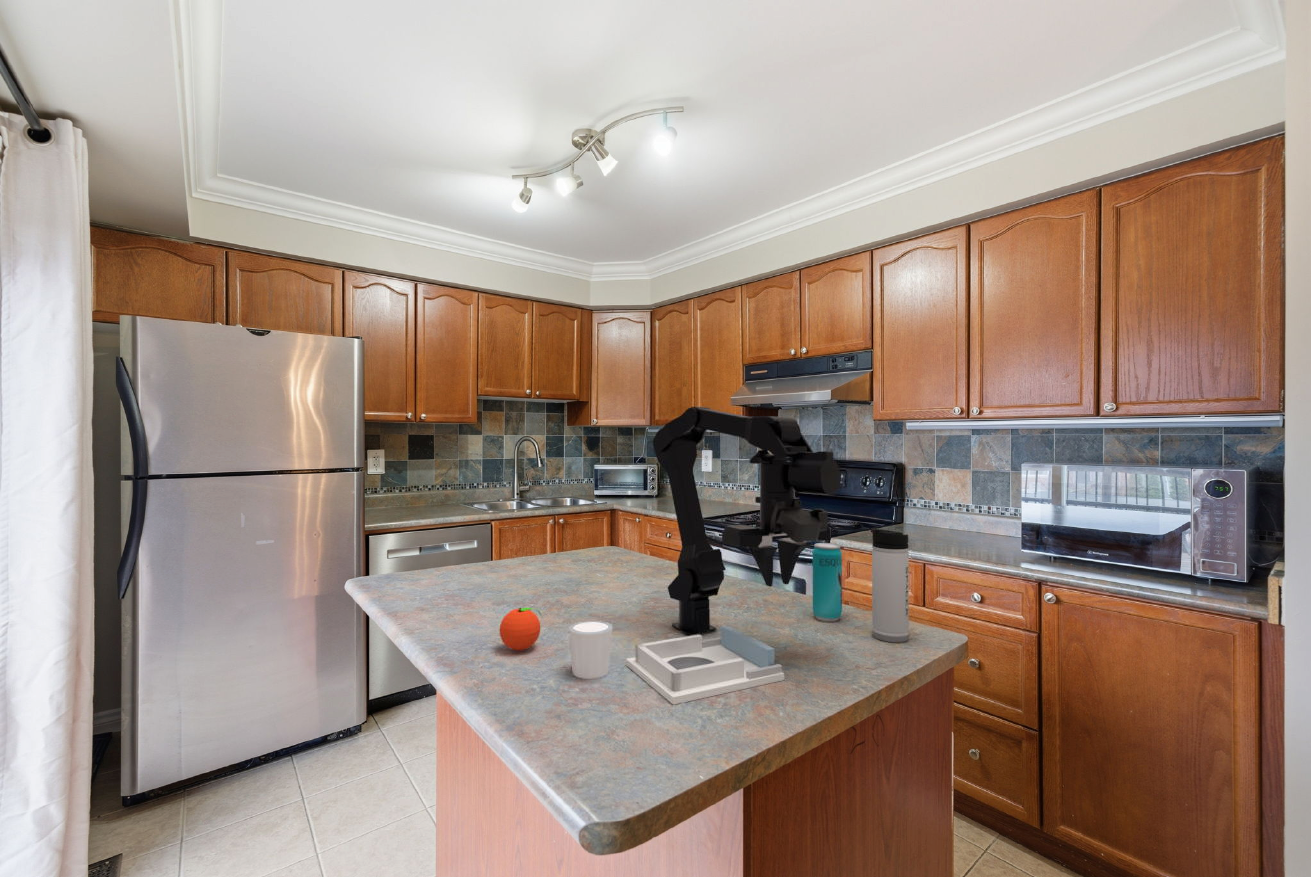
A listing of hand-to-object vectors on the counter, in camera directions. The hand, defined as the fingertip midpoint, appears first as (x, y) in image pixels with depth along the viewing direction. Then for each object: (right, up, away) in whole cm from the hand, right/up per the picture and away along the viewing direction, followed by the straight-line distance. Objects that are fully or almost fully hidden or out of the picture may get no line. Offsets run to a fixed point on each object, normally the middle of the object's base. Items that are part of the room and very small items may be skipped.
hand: (777, 585), depth 97 cm
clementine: (-43, -12, +4) cm, 45 cm away
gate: (-6, -11, -3) cm, 13 cm away
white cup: (-30, -12, -6) cm, 33 cm away
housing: (-13, -12, -7) cm, 19 cm away
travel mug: (+23, -12, +10) cm, 28 cm away
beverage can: (+15, -13, +22) cm, 29 cm away
